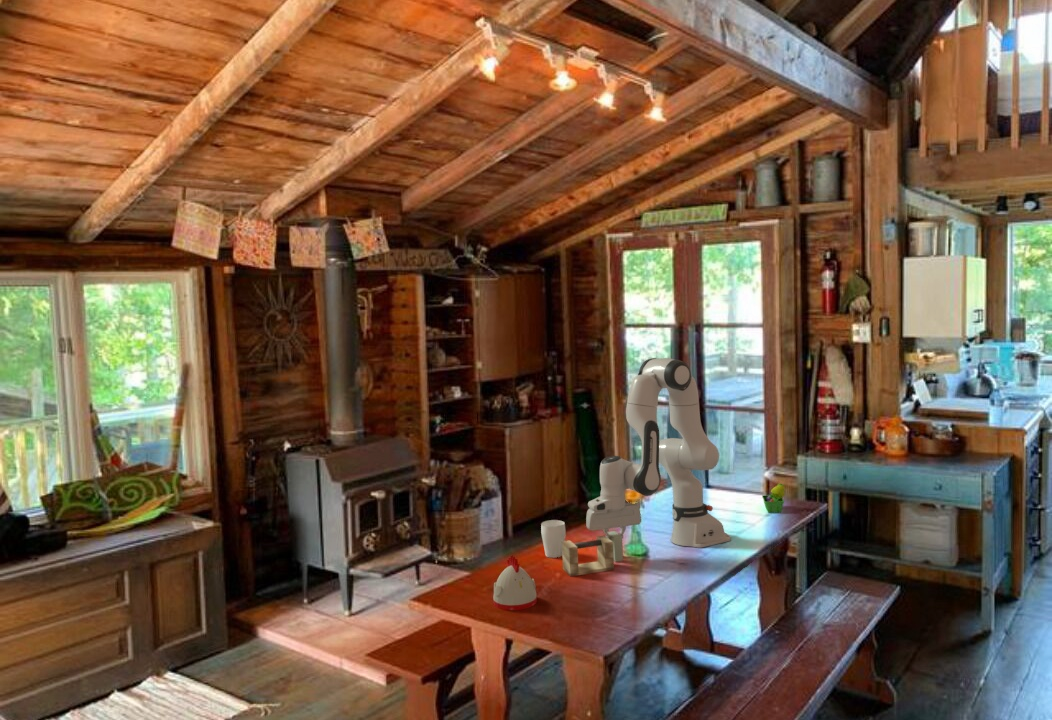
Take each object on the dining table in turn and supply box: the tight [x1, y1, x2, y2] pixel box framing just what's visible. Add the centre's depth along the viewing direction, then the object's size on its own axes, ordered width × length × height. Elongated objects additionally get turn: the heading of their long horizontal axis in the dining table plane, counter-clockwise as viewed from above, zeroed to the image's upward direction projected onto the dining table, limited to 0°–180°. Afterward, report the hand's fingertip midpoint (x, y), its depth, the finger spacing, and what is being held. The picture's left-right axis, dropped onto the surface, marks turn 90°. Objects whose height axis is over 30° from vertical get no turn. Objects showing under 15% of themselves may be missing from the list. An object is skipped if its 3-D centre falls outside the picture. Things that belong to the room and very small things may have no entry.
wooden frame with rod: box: [561, 535, 615, 577], centre depth 298 cm, size 16×8×10 cm, turn 106°
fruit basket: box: [762, 483, 786, 514], centre depth 360 cm, size 11×9×11 cm
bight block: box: [607, 530, 624, 563], centre depth 308 cm, size 3×7×9 cm, turn 16°
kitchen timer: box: [492, 554, 538, 611], centre depth 271 cm, size 14×14×15 cm
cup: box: [540, 519, 566, 559], centre depth 316 cm, size 9×9×12 cm
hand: (614, 539), depth 308 cm, fingers closed on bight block, 3 cm apart
